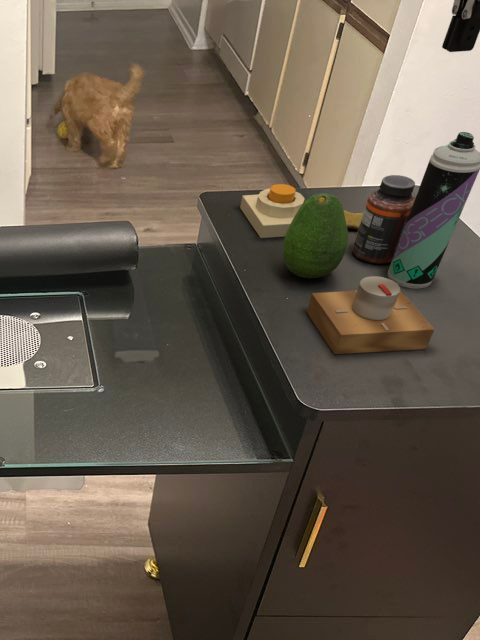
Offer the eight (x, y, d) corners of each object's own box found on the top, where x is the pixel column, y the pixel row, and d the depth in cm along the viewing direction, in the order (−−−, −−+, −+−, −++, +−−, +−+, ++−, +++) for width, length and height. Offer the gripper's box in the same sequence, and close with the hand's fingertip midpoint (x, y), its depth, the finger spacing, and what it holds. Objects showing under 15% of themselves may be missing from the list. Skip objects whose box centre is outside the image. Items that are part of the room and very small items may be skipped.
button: (288, 193, 112) (290, 183, 111) (296, 204, 109) (299, 193, 108) (264, 195, 112) (267, 184, 111) (272, 205, 109) (275, 195, 108)
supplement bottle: (394, 247, 105) (422, 173, 98) (398, 268, 101) (427, 192, 94) (350, 242, 107) (373, 169, 100) (351, 262, 103) (376, 188, 95)
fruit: (345, 291, 97) (372, 209, 90) (284, 291, 98) (306, 211, 90) (327, 260, 104) (351, 181, 96) (270, 261, 104) (289, 182, 96)
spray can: (379, 269, 101) (430, 127, 88) (417, 265, 101) (474, 123, 88) (400, 290, 97) (457, 145, 84) (440, 286, 97) (503, 141, 84)
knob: (345, 301, 91) (354, 275, 88) (380, 298, 91) (390, 272, 88) (361, 321, 87) (371, 295, 85) (398, 318, 87) (408, 292, 85)
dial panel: (391, 307, 94) (399, 286, 92) (426, 349, 87) (435, 328, 85) (306, 312, 94) (312, 291, 92) (334, 354, 88) (341, 333, 85)
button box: (289, 204, 117) (295, 181, 114) (313, 235, 109) (320, 210, 107) (239, 207, 117) (244, 184, 114) (260, 238, 109) (265, 214, 107)
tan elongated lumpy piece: (409, 238, 109) (416, 234, 106) (313, 232, 113) (317, 228, 110) (412, 216, 109) (419, 212, 106) (316, 211, 113) (320, 206, 110)
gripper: (449, -126, 88) (400, 35, 100) (524, -111, 77) (458, 69, 89) (512, -131, 88) (454, 32, 100) (596, -116, 77) (520, 65, 88)
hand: (456, 49), depth 94 cm, fingers closed
